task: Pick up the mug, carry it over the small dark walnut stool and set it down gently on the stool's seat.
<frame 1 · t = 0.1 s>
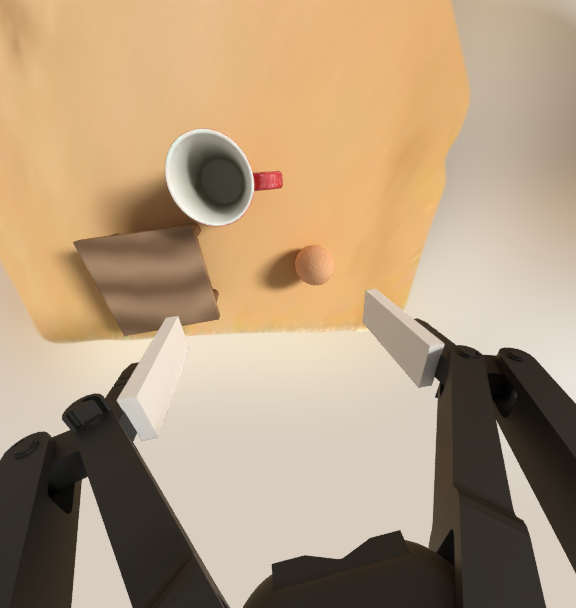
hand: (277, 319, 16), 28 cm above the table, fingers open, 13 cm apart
mug: (234, 182, 36), on the table
egg: (308, 257, 44), on the table
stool: (169, 269, 41), on the table
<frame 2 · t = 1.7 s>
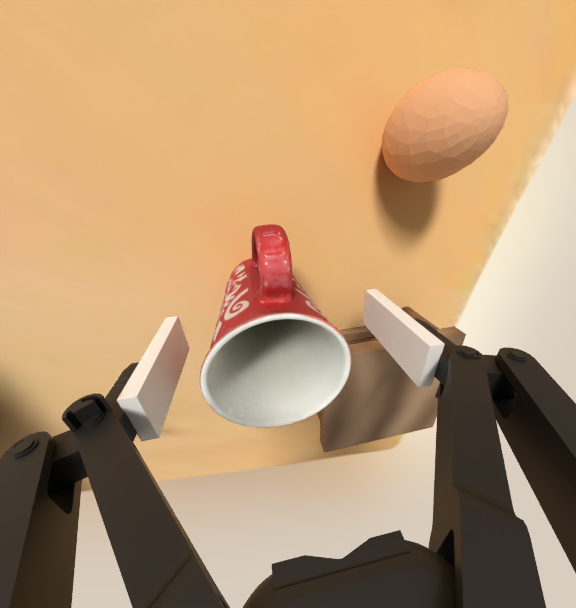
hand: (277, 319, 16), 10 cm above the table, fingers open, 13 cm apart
mug: (262, 273, 25), on the table
egg: (397, 142, 21), on the table
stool: (358, 356, 33), on the table
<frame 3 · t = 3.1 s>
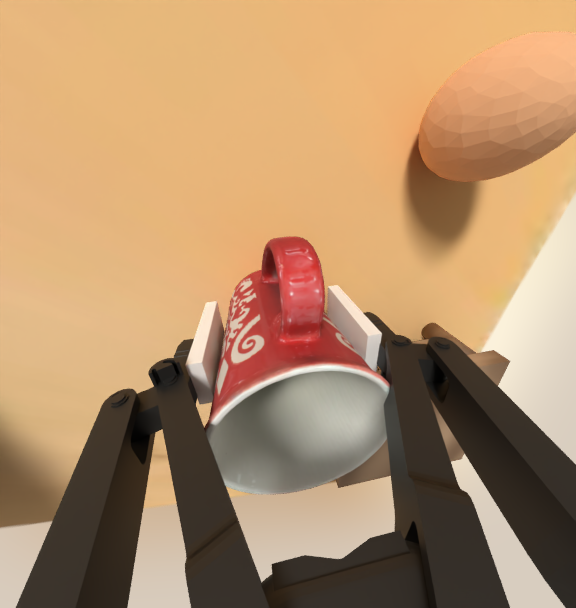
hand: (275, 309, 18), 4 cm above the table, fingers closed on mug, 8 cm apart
mug: (270, 287, 21), on the table, touching gripper
egg: (434, 134, 18), on the table
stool: (376, 376, 29), on the table
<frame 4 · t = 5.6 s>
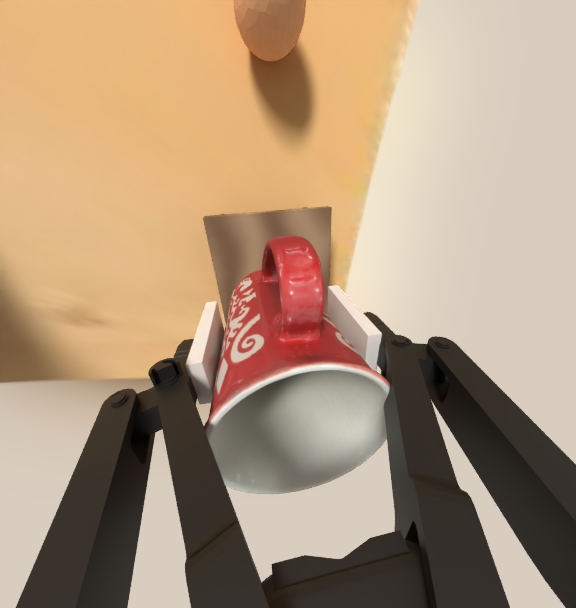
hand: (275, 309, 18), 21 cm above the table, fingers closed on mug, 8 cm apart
mug: (270, 286, 21), point 16 cm above the table, touching gripper
egg: (265, 35, 26), on the table
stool: (269, 257, 37), on the table
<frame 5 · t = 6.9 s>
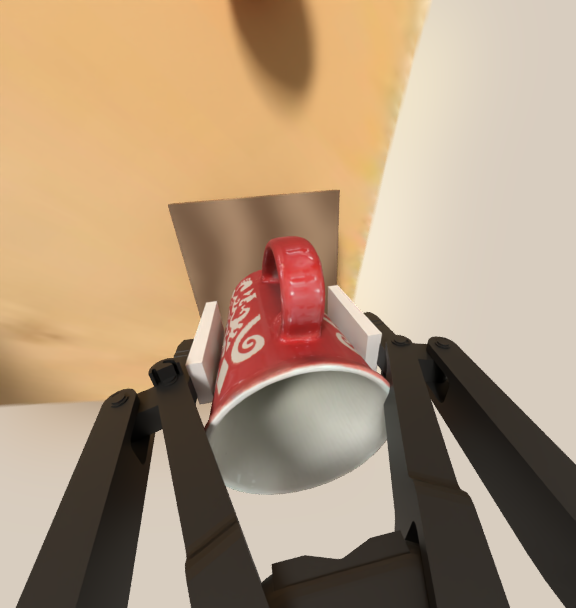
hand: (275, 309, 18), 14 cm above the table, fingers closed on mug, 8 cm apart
mug: (270, 287, 21), point 10 cm above the table, touching gripper
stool: (262, 257, 30), on the table
when the fingers open (13 cm above the table, at t = 8.1 s): mug moves 1 cm, resting on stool.
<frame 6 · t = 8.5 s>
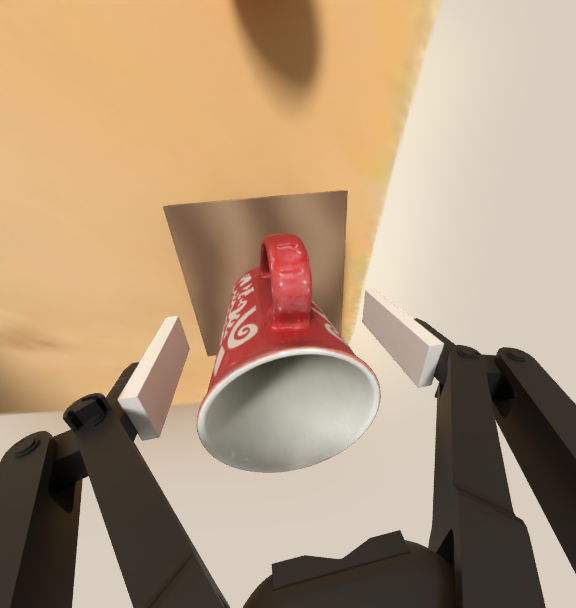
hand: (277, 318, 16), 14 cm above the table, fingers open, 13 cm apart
mug: (269, 283, 22), point 7 cm above the table, touching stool
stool: (263, 261, 29), on the table
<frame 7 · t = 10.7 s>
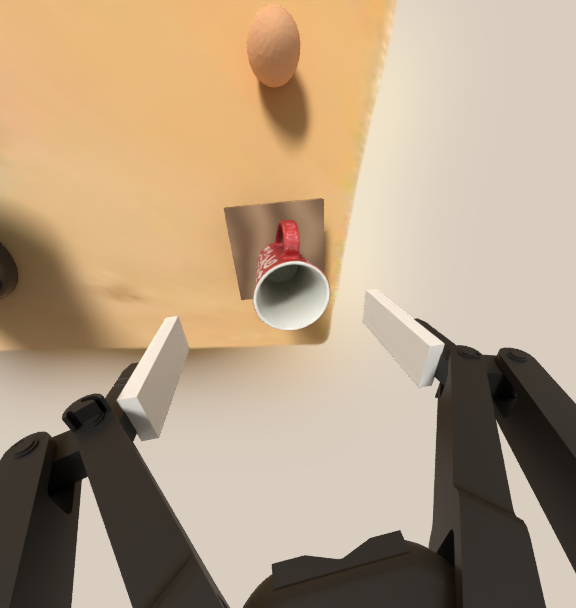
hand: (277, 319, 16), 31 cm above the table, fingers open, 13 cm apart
mug: (279, 253, 38), point 7 cm above the table, touching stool
egg: (270, 66, 33), on the table
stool: (275, 243, 44), on the table
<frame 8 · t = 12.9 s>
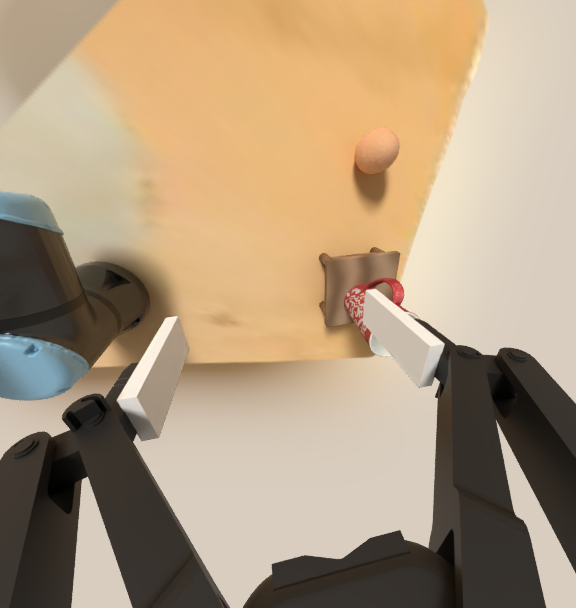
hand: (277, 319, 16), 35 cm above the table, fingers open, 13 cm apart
mug: (361, 291, 49), point 7 cm above the table, touching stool
egg: (363, 155, 44), on the table
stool: (347, 279, 55), on the table
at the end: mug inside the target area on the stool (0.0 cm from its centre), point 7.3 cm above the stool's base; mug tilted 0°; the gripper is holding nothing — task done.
